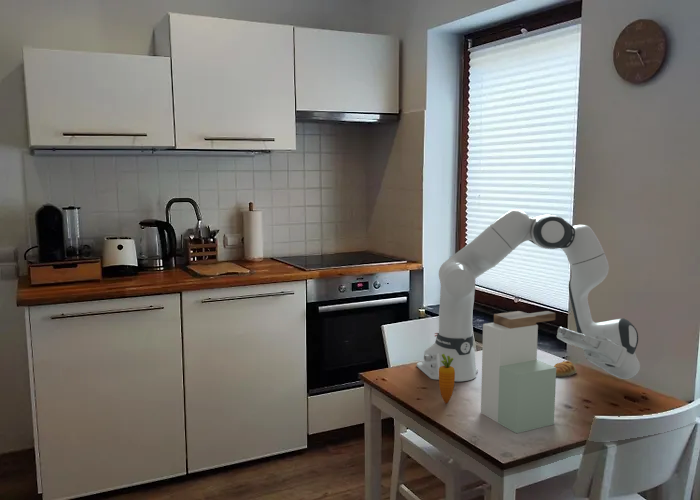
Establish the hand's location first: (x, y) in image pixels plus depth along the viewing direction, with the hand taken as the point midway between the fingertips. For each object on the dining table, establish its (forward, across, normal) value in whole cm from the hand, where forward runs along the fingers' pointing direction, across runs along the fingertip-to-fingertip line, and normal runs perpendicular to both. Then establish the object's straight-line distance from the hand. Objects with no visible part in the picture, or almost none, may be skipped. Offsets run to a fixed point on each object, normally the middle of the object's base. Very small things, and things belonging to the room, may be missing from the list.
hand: (571, 333), depth 177 cm
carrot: (+20, -14, +36) cm, 43 cm away
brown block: (+18, 0, +4) cm, 18 cm away
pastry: (-25, -19, +10) cm, 33 cm away
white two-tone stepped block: (+10, +4, +30) cm, 31 cm away
